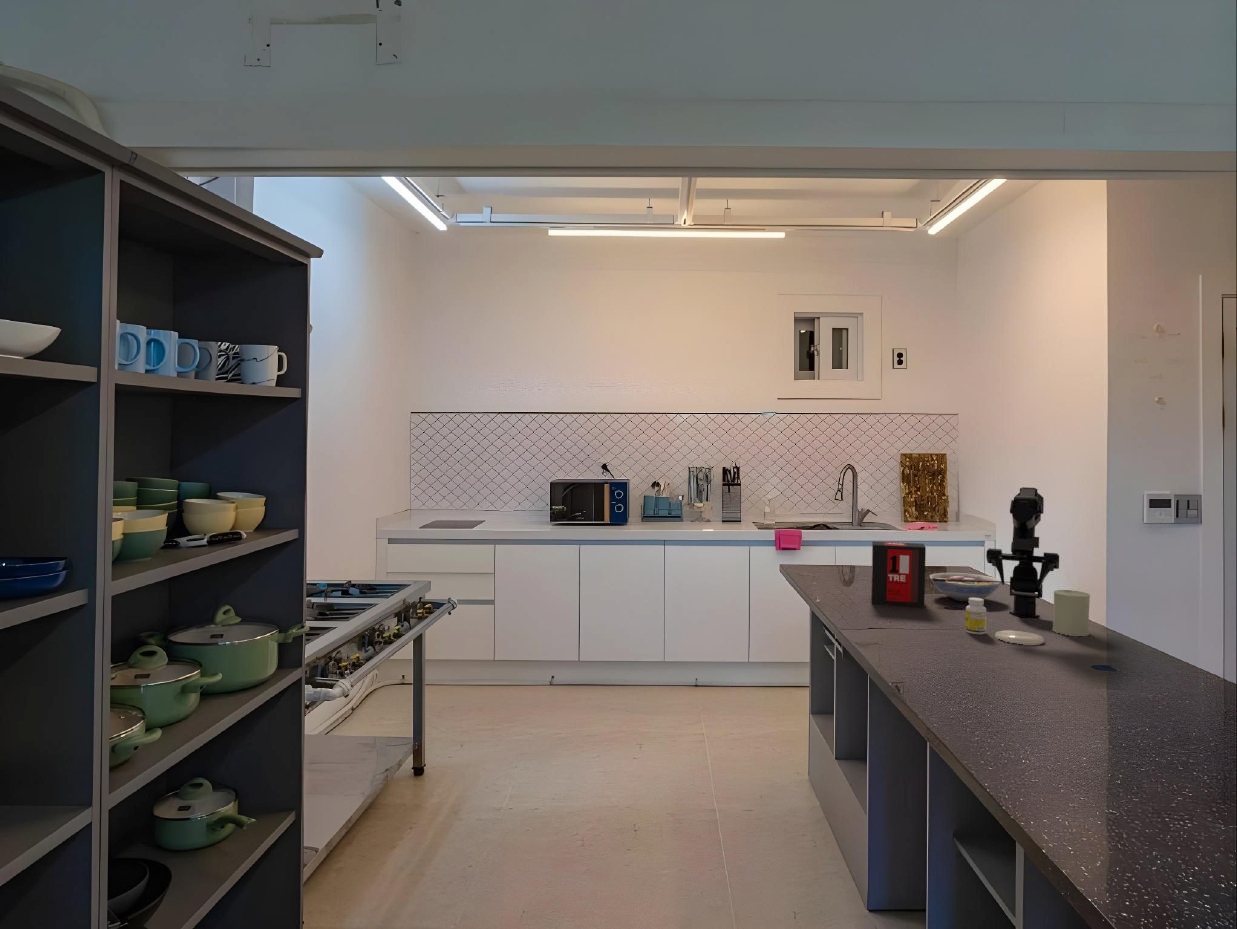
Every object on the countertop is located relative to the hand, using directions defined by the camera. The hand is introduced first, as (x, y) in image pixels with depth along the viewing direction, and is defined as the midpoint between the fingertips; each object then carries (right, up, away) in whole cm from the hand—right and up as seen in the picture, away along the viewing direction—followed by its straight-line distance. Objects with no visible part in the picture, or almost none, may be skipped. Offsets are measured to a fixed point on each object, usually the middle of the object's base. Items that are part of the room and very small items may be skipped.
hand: (1020, 586), depth 224 cm
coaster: (-4, -14, -6) cm, 16 cm away
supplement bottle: (-12, -14, +1) cm, 19 cm away
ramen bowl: (+4, -12, +46) cm, 48 cm away
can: (+16, -14, +2) cm, 21 cm away
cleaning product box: (-21, -12, +40) cm, 47 cm away
